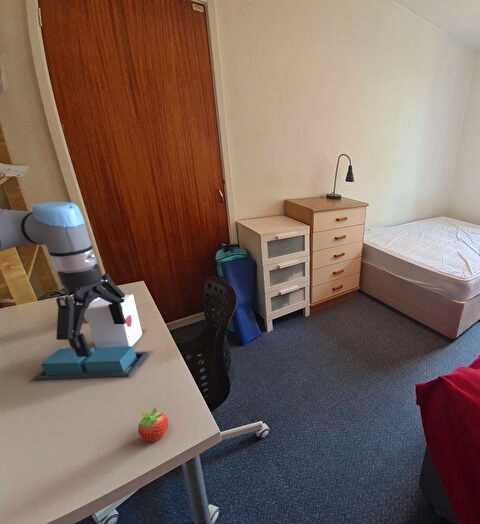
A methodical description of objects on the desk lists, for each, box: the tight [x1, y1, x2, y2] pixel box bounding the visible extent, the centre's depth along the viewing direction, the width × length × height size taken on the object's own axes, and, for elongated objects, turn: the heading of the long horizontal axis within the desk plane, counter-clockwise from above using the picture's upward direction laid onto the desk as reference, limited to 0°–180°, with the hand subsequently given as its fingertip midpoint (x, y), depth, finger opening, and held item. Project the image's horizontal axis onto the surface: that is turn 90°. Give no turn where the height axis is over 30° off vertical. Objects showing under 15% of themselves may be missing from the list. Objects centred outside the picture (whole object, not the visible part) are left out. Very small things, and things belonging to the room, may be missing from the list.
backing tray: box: [32, 351, 149, 382], centre depth 80 cm, size 24×9×2 cm, turn 95°
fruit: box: [136, 406, 169, 442], centre depth 61 cm, size 5×5×8 cm
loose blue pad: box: [84, 345, 137, 374], centre depth 79 cm, size 9×6×5 cm, turn 96°
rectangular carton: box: [85, 294, 143, 351], centre depth 87 cm, size 9×9×15 cm
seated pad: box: [40, 347, 96, 376], centre depth 78 cm, size 9×6×5 cm, turn 95°
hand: (103, 338), depth 76 cm, fingers open, 13 cm apart
